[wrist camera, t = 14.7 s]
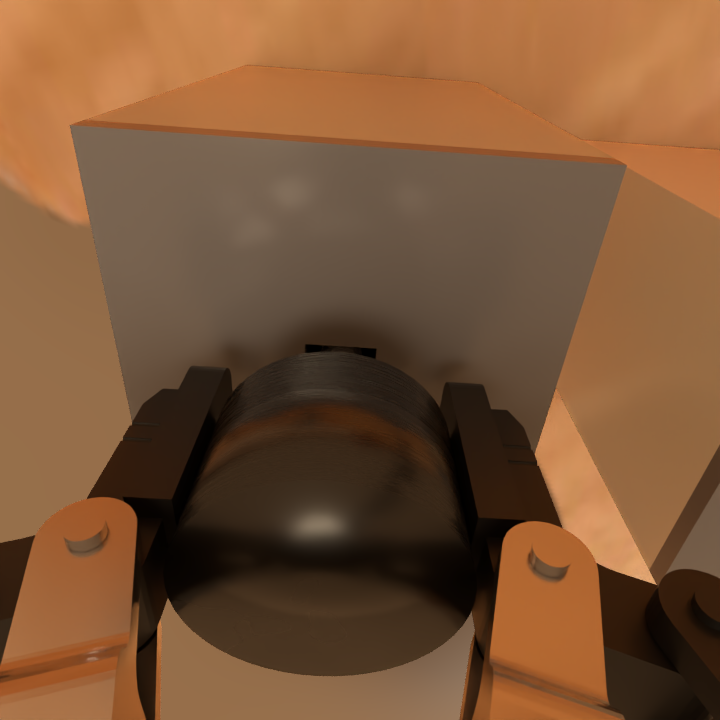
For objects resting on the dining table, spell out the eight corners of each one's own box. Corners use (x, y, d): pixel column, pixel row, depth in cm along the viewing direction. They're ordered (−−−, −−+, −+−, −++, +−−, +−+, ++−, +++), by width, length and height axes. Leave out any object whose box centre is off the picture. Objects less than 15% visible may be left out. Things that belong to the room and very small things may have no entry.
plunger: (457, 112, 22) (717, 379, 5) (430, 291, 26) (532, 738, 10) (261, 98, 22) (-70, 329, 5) (267, 280, 26) (93, 717, 10)
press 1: (476, 82, 23) (627, 165, 10) (442, 291, 28) (508, 534, 15) (246, 64, 23) (69, 125, 9) (255, 279, 28) (151, 513, 15)
